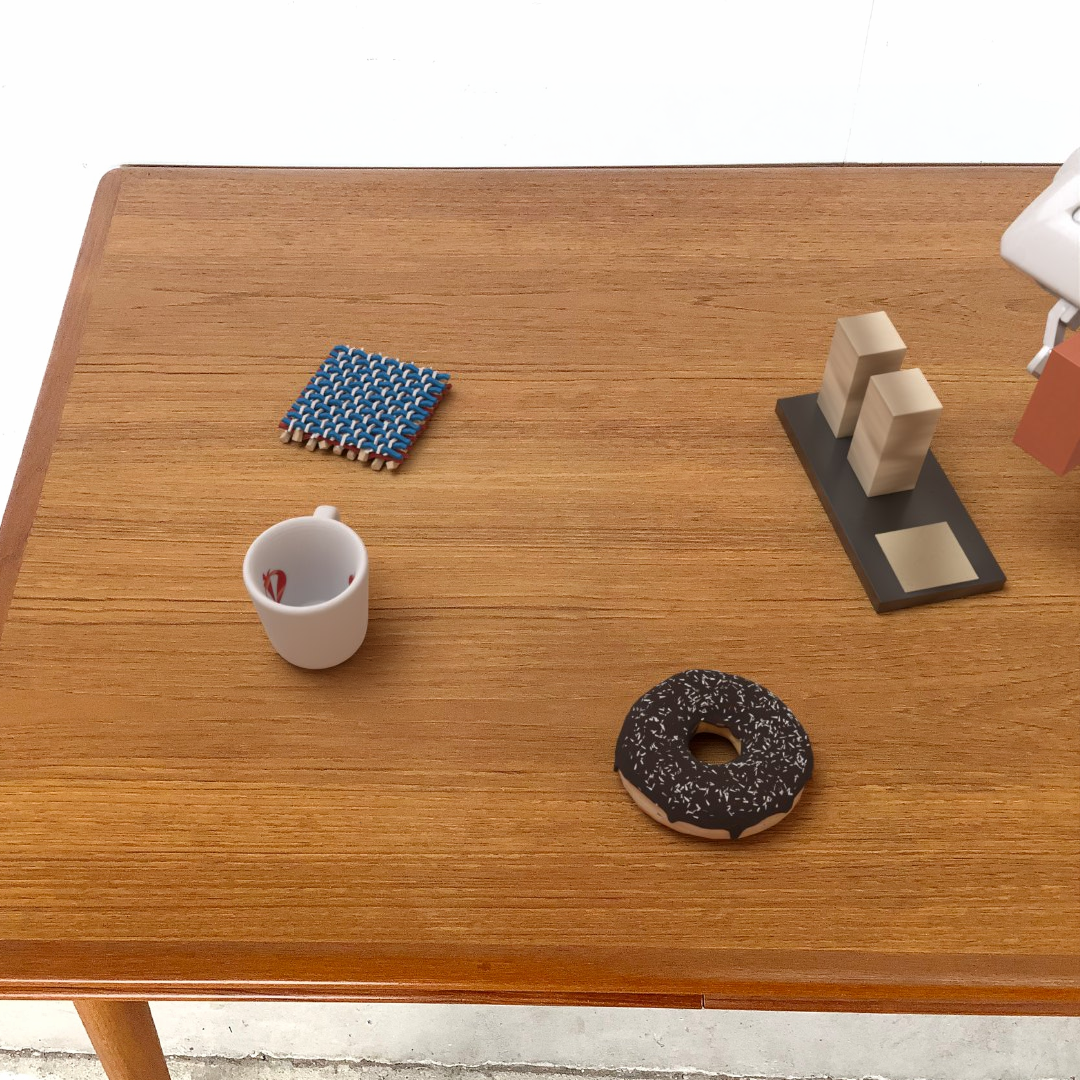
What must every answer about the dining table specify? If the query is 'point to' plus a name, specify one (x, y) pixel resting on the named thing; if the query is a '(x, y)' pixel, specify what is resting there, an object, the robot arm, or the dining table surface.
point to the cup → (310, 588)
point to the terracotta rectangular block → (1055, 411)
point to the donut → (704, 789)
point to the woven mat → (365, 406)
